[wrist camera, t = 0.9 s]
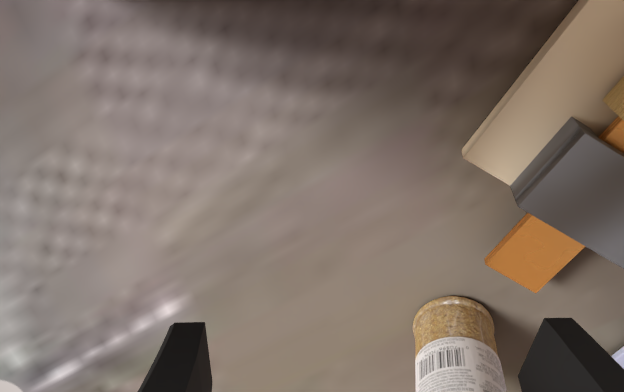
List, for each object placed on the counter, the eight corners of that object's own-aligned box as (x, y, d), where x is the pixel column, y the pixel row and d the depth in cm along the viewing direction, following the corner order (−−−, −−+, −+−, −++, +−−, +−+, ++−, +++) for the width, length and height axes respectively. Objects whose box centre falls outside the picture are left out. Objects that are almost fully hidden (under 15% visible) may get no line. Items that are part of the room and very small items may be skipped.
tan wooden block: (730, 129, 21) (859, 216, 15) (549, 296, 26) (592, 410, 20) (631, 66, 21) (724, 130, 15) (467, 249, 26) (485, 352, 20)
